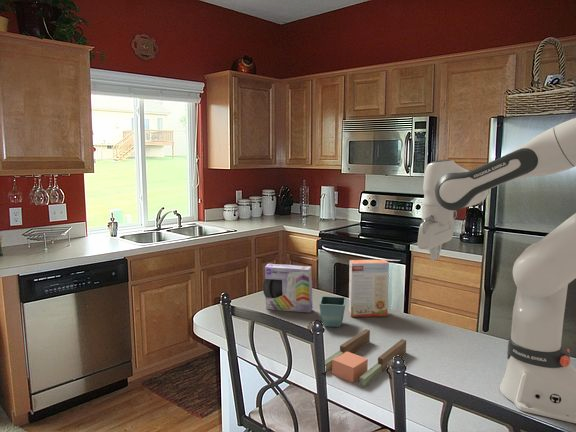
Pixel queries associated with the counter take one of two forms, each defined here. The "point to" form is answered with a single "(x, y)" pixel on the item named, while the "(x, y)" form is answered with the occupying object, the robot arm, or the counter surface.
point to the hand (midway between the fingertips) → (434, 259)
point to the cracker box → (368, 288)
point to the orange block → (349, 366)
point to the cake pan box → (288, 287)
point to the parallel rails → (381, 366)
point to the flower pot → (332, 310)
